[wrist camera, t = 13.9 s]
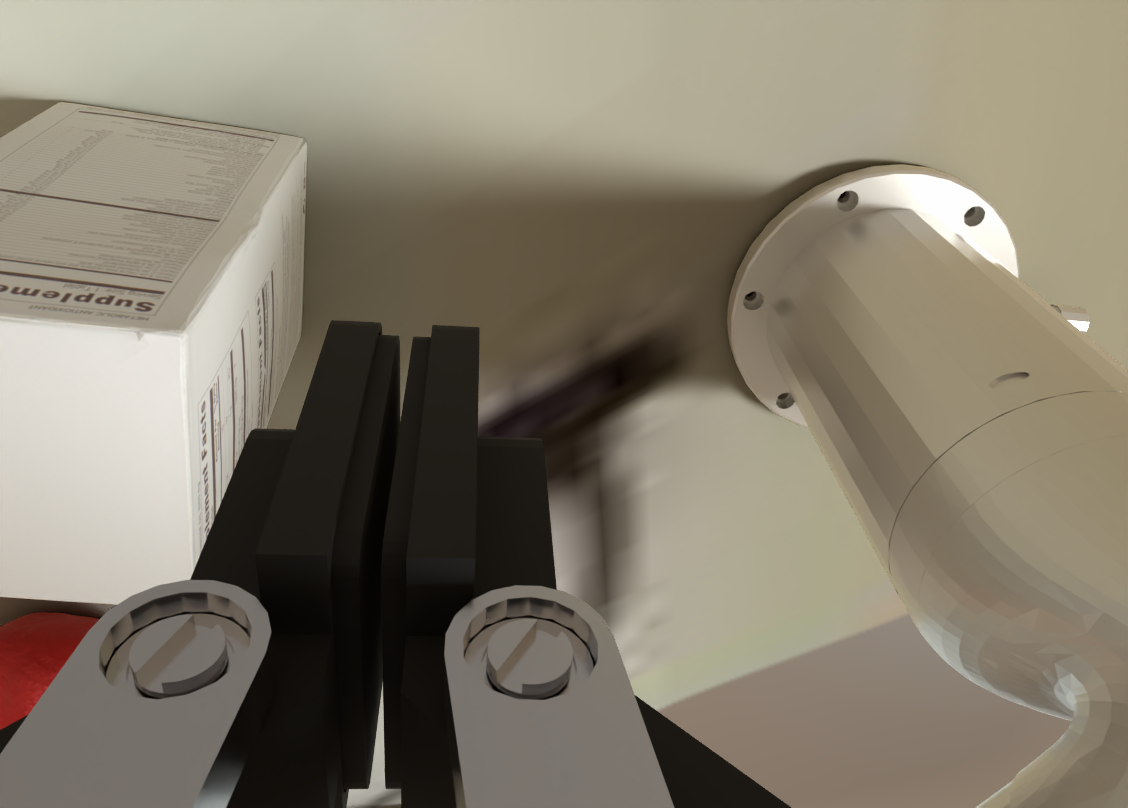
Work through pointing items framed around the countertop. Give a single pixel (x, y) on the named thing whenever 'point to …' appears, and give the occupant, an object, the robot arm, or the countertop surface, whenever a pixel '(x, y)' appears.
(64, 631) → the red tomato
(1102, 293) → the countertop surface
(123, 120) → the supplement box
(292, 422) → the countertop surface
